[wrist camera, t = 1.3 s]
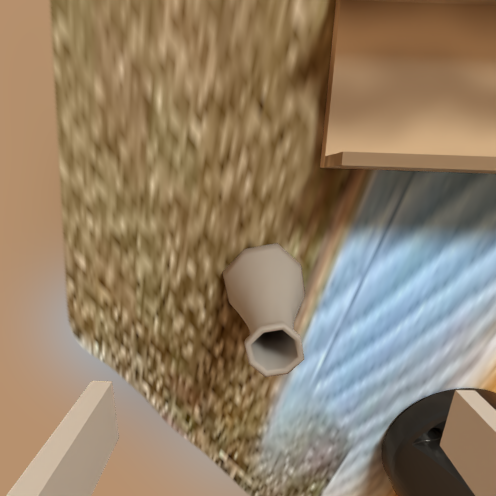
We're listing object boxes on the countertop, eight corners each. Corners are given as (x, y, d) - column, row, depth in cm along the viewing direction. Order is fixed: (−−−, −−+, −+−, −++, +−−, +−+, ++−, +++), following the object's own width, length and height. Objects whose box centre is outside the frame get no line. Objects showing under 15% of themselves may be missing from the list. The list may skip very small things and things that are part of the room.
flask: (248, 331, 26) (248, 424, 16) (208, 267, 24) (182, 328, 14) (317, 297, 25) (362, 374, 15) (281, 228, 23) (306, 265, 13)
